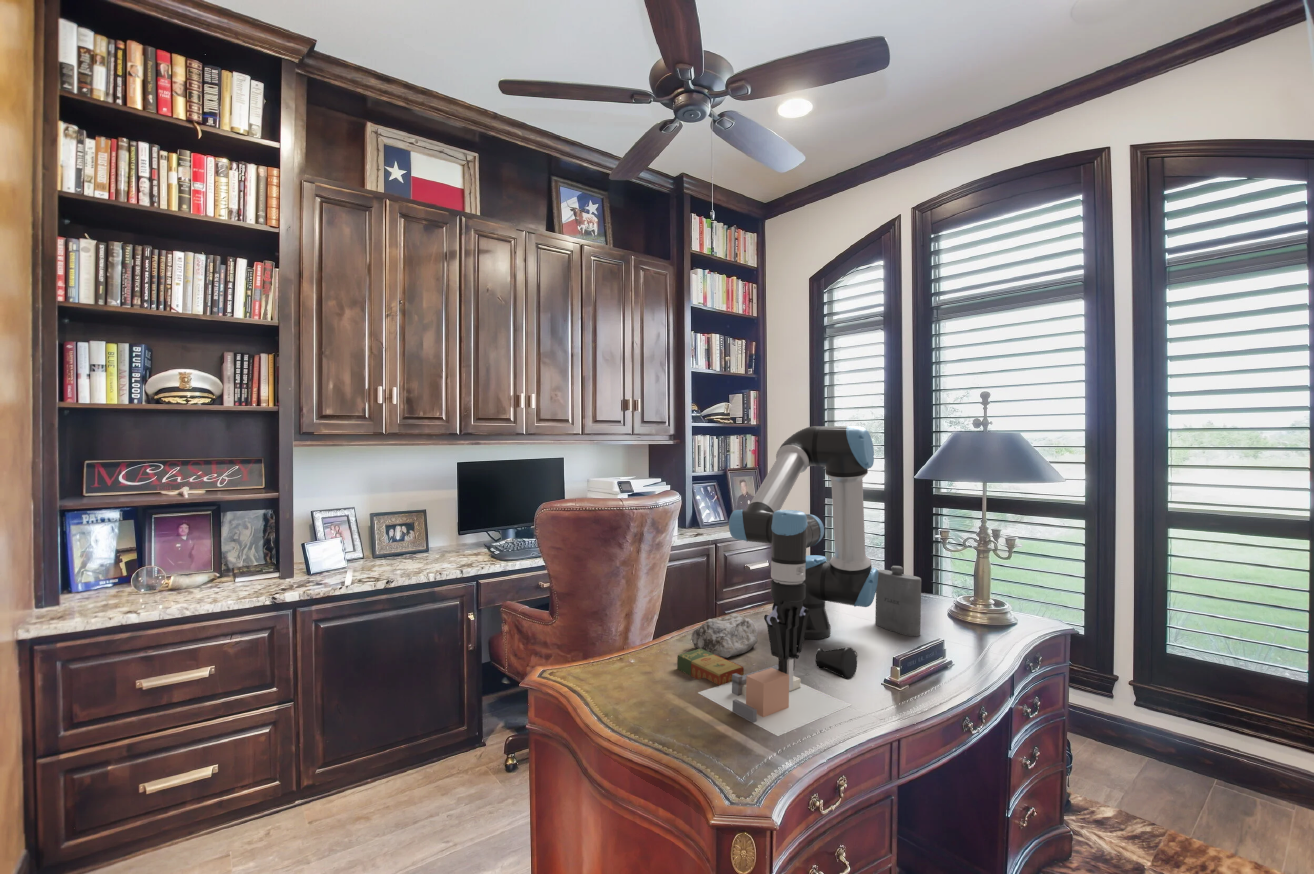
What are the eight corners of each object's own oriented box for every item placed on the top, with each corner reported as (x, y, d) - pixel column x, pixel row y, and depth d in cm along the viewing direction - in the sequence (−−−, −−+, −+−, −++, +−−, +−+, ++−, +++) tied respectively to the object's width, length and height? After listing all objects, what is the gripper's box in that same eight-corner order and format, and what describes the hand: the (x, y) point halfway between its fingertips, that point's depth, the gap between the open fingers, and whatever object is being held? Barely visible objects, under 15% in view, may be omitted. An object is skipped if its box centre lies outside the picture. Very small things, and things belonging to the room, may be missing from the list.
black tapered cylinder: (843, 680, 145) (813, 675, 151) (878, 672, 157) (849, 668, 163) (841, 648, 147) (812, 644, 153) (877, 642, 159) (848, 639, 165)
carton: (719, 692, 139) (719, 673, 139) (676, 670, 152) (676, 653, 152) (744, 683, 144) (744, 665, 144) (700, 662, 157) (700, 646, 157)
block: (745, 708, 127) (746, 675, 127) (771, 699, 132) (771, 667, 132) (763, 717, 123) (763, 683, 123) (788, 707, 128) (789, 675, 128)
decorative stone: (734, 629, 180) (736, 600, 177) (768, 651, 170) (771, 620, 167) (686, 652, 168) (688, 621, 165) (720, 677, 158) (722, 644, 155)
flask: (870, 624, 192) (871, 563, 192) (881, 621, 195) (882, 561, 195) (912, 638, 179) (913, 572, 179) (923, 634, 183) (924, 570, 183)
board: (697, 697, 135) (697, 674, 135) (769, 674, 149) (769, 652, 149) (777, 742, 115) (778, 714, 115) (851, 710, 130) (852, 685, 130)
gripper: (781, 588, 124) (779, 700, 124) (820, 580, 132) (818, 685, 132) (755, 580, 130) (753, 687, 130) (794, 573, 138) (792, 674, 138)
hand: (786, 686), depth 131 cm, fingers closed
